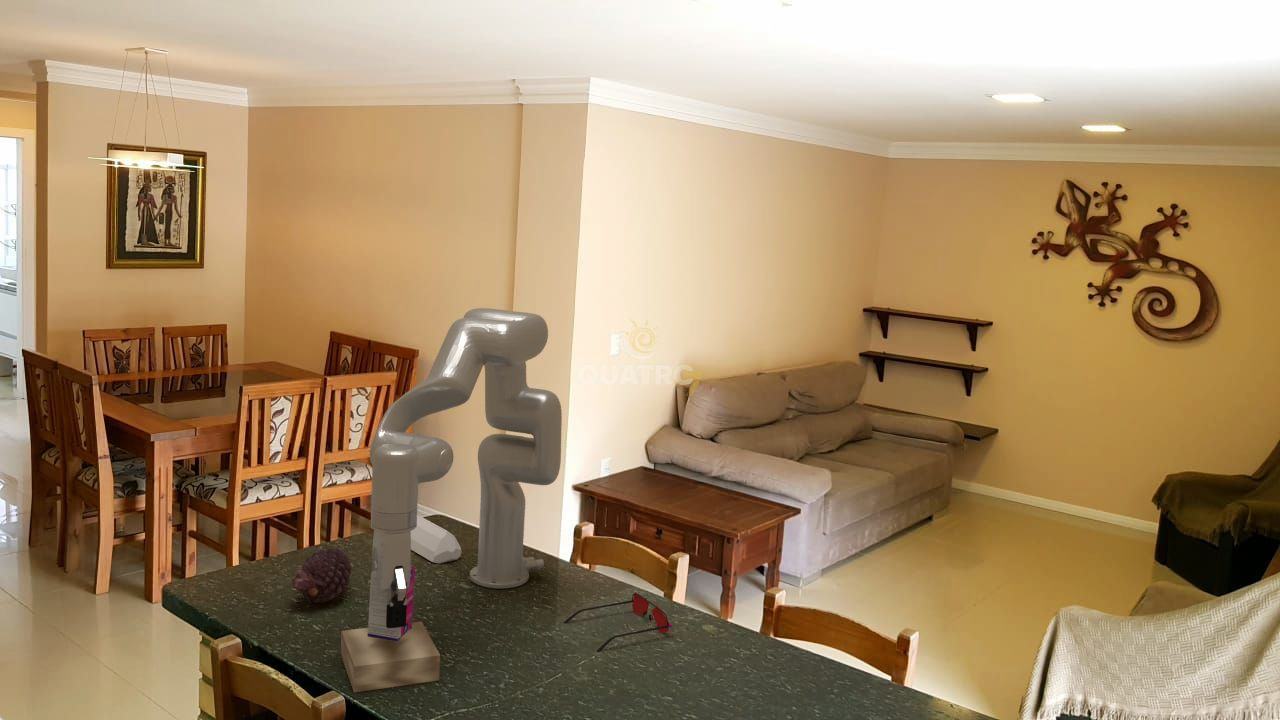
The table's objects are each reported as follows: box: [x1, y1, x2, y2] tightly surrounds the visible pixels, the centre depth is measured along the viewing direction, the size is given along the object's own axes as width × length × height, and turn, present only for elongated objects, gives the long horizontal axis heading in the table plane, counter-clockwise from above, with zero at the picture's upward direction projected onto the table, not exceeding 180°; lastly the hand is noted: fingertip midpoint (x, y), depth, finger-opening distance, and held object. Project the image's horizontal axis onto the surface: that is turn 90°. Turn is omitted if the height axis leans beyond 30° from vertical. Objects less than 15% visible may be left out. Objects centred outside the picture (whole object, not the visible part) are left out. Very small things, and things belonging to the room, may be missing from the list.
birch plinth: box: [340, 621, 441, 693], centre depth 171 cm, size 14×14×4 cm
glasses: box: [563, 591, 673, 653], centre depth 192 cm, size 14×16×5 cm
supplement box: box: [367, 565, 416, 641], centre depth 169 cm, size 6×6×12 cm
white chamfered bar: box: [411, 514, 462, 564], centre depth 229 cm, size 7×7×24 cm
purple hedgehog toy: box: [291, 547, 352, 604], centre depth 197 cm, size 18×10×10 cm, turn 169°
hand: (391, 616), depth 170 cm, fingers closed on supplement box, 7 cm apart
